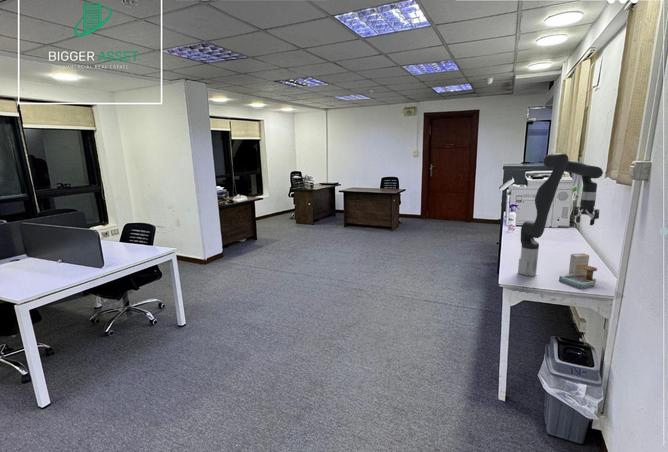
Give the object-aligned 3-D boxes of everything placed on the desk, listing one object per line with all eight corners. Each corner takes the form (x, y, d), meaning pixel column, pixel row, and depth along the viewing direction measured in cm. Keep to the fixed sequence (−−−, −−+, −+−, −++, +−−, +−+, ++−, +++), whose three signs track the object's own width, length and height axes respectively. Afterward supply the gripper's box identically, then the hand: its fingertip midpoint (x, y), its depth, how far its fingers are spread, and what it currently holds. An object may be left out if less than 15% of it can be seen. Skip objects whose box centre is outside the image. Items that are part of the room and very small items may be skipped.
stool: (590, 283, 190) (592, 270, 188) (579, 279, 195) (581, 266, 194) (597, 281, 192) (599, 268, 190) (587, 278, 197) (589, 265, 195)
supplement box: (581, 273, 205) (583, 253, 202) (587, 276, 200) (589, 255, 198) (567, 273, 205) (570, 253, 202) (573, 276, 200) (576, 256, 197)
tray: (581, 288, 183) (581, 284, 182) (559, 280, 195) (559, 276, 195) (594, 286, 186) (594, 281, 185) (571, 278, 198) (572, 273, 197)
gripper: (572, 197, 215) (569, 222, 219) (595, 200, 202) (591, 226, 205) (581, 197, 217) (577, 221, 221) (604, 199, 204) (600, 225, 207)
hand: (584, 223), depth 213 cm, fingers open, 8 cm apart
